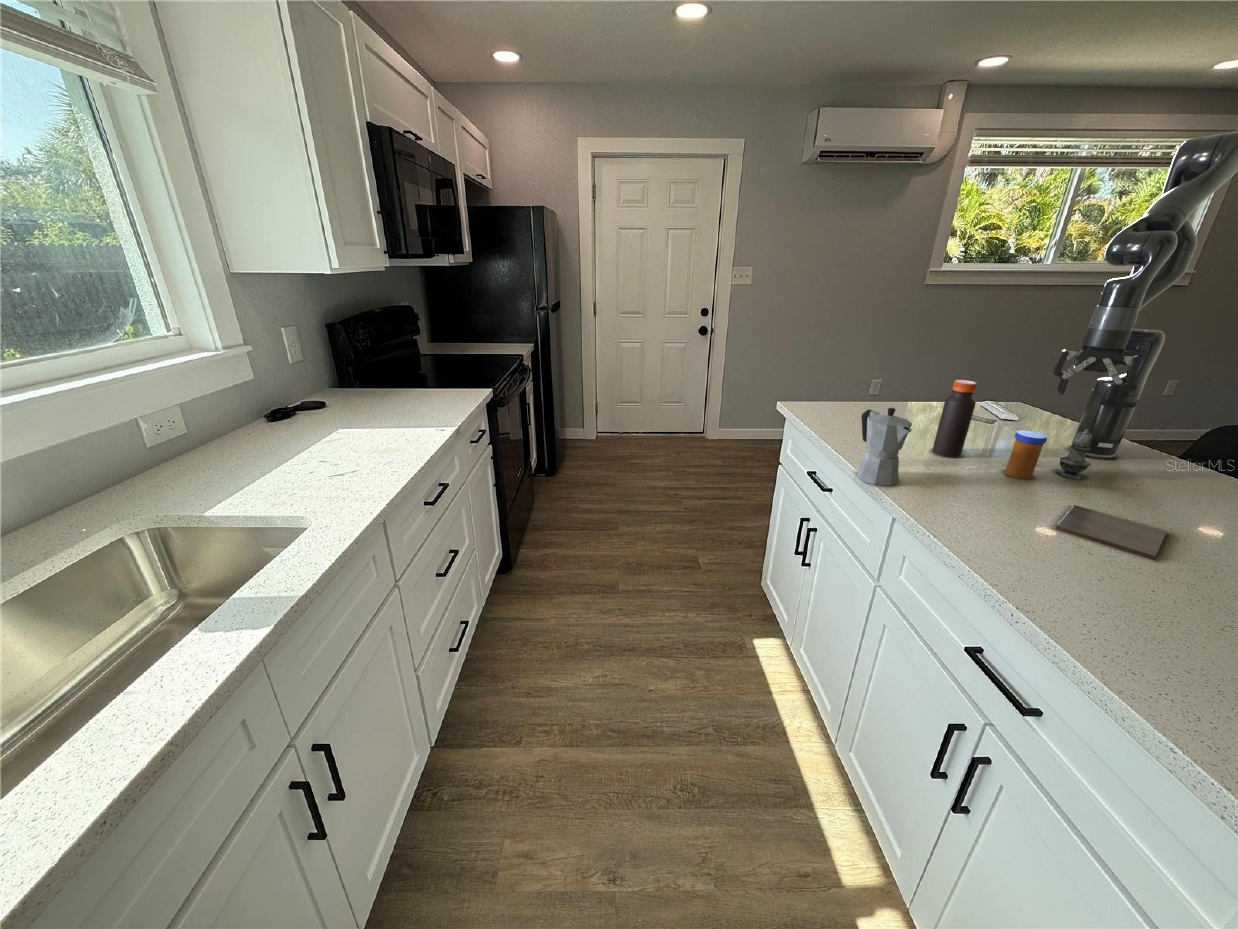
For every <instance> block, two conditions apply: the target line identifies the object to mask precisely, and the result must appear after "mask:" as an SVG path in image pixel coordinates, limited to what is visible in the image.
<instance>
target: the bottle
mask: <svg viewBox="0 0 1238 929" xmlns="http://www.w3.org/2000/svg"><path fill="white" fill-rule="evenodd" d="M977 385H978V383H977V382H975V381H972V380H965V379H955V380H954V381H953V385H952V390H951V391H952V394H951V395H948V397H946V398H945V400H944V404H943V407H942V411H941V415H940V419H939V422H938V426H937V430H936V434H935V437H934V442H933V445H932V453H934V454H935V455H937V456H941V457H946V458H958V457H961V455H962V452H963V449H964V446H965V442H966V438H967V434H968V432H969V429H970V424H971V421H972V419H973V414H974V410H975V408H976V404H977V403H976V400H975V399H974V398H973V395H974V394H975V392H976V389H977Z"/></svg>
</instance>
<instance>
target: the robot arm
mask: <svg viewBox="0 0 1238 929" xmlns="http://www.w3.org/2000/svg"><path fill="white" fill-rule="evenodd" d="M1237 172H1238V131H1231V132H1223V133H1217V134H1211V135H1209V134H1208V135H1205V136H1198V137H1193V138H1189V139H1187V140H1185V141H1184V142H1183V143H1182V144H1180V146H1179V147H1178V149H1177V151H1176V152H1175V155H1174V156H1173V159H1172V162H1171V165H1170V168H1169V170H1168V173H1167V175H1166V180H1165V183H1164V186H1163V189H1162V192H1161V196H1159V197H1158V198H1157V199H1156V200H1155V201H1154V202H1153V203H1152V204H1151V205H1150V206H1149V208H1148V209H1147V210H1146V212H1145V213H1144V214H1143V216H1142V217H1140V218H1139V219H1137V220H1135V221H1134V222H1132V223H1131V224H1130V225H1128V226H1126V227H1124V229H1122V230H1121V231H1120V232H1118V233H1117V234H1116V235H1115V236H1113V238H1112V239H1111V240H1110V241H1109V243H1108V244H1107V246H1106V247H1105V248H1106V249H1105V251H1104V259H1105V261H1106V263H1107V264H1109V265H1110V266H1113V267H1133V268H1132V270H1131V273H1130V275H1129V276H1128V275H1127V276H1122V277H1116V278H1112V279H1111V278H1110V279H1109V280H1107V281H1106V282H1105V284H1104V286H1103V289H1102V291H1101V294H1100V297H1099V299H1098V301H1097V305H1096V307H1095V309H1094V311H1093V313H1092V315H1091V317H1090V320H1089V322H1088V326H1087V329H1086V330H1085V334H1084V336H1083V340H1082V342H1081V344H1080V348H1079V349H1077V351H1072V350H1067V349H1062V350H1061V351H1060V353H1059V355H1058V358H1057V360H1056V361H1055V362H1056V363H1055V364H1054V367H1053V369H1052V374H1053V375H1054V376H1057V377H1059V380H1058V384H1057V386H1056V391H1057V392H1058V395H1064V394H1065V392H1066V389H1067V386H1068V384H1069V380H1070V379H1069V378H1071V377H1072V376H1073V375H1075V374H1078V372H1080V371H1085V372H1097V373H1102V374H1103V373H1106V372H1107V374H1108V376H1104V377H1100V378H1097V379H1096V380H1095V381H1094V383H1093V386H1092V389H1091V392H1090V394H1089V396H1088V400H1087V402H1086V404H1085V407H1084V410H1083V412H1082V415H1081V418H1080V420H1079V423H1078V425H1077V429H1076V431H1075V434H1074V436H1073V439H1072V441H1071V444H1070V445H1069V450H1071V448H1072V447H1071V445H1072V444H1073V443H1074V441H1075V438H1076V436H1077V434H1078V433H1080V432H1085V430H1086V429H1088V433H1090V434H1091V435H1092V440H1091V442H1090V445H1089V448H1090V449H1089V450H1088V451H1087V454H1086V457H1089V458H1095V459H1103V460H1104V459H1106V460H1107V459H1108V460H1109V459H1114V458H1116V456H1117V452H1118V449H1119V447H1120V444H1121V443H1122V440H1123V438H1124V435H1125V433H1126V430H1127V428H1128V426H1129V423H1130V421H1131V419H1132V416H1133V414H1134V412H1135V409H1136V407H1137V404H1138V402H1139V399H1140V397H1141V394H1142V392H1143V389H1144V387H1145V385H1146V382H1147V380H1148V377H1149V375H1150V373H1151V371H1152V368H1153V367H1154V365H1155V363H1156V361H1157V360H1158V356H1159V355H1160V353H1161V350H1162V348H1163V347H1164V343H1165V339H1166V334H1165V333H1164V331H1162V330H1157V329H1146V328H1143V329H1142V328H1135V327H1136V323H1137V321H1138V315H1139V312H1140V311H1141V310H1142V309H1143V308H1144V307H1145V306H1146V305H1147V304H1149V303H1150V302H1151V301H1152V300H1154V299H1155V298H1157V297H1158V296H1159V295H1160V294H1162V293H1164V292H1165V291H1166V290H1167V289H1169V288H1170V287H1172V286H1173V285H1174V284H1175V283H1176V282H1178V281H1179V280H1180V279H1181V278H1182V277H1183V276H1184V274H1185V273H1186V272H1187V270H1188V267H1189V266H1190V263H1191V260H1192V258H1193V256H1194V254H1195V251H1196V249H1197V245H1198V237H1197V234H1196V231H1195V228H1194V226H1193V225H1192V223H1191V220H1190V216H1192V214H1193V213H1194V211H1195V210H1196V209H1197V208H1198V207H1199V206H1200V205H1201V204H1202V203H1204V202H1205V201H1206V200H1207V199H1208V198H1209V197H1210V196H1212V195H1213V194H1214V193H1215V192H1216V191H1218V190H1219V189H1220V188H1221V187H1222V186H1223V185H1224V184H1226V183H1227V182H1228V181H1229V180H1230V179H1231V178H1233V176H1234V175H1235V174H1237ZM1073 357H1074V358H1075V360H1076V361H1077V362H1076V363H1075V364H1073V365H1072V366H1070V367H1069V368H1068V369H1067V370H1065V371H1062V370H1063V367H1064V365H1065V363H1066V361H1069V360H1071V359H1072V358H1073ZM1116 366H1120V367H1127V370H1126V372H1125V373H1123V374H1119V372H1118V370H1117V368H1116Z"/></svg>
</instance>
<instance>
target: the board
mask: <svg viewBox="0 0 1238 929" xmlns="http://www.w3.org/2000/svg"><path fill="white" fill-rule="evenodd" d="M1054 529H1055V530H1057V531H1061V532H1064V533H1066V534H1070V535H1073V536H1077V537H1080V538H1084V539H1086V540H1089V541H1093V542H1095V543H1099V544H1102V545H1105V546H1109V547H1111V548H1115V549H1119V550H1122V551H1124V552H1127V553H1131V554H1134V555H1137V556H1140V557H1143V558H1147V559H1150V560H1155V558H1156V556H1157V555H1158V552H1159V549H1160V547H1161V545H1162V543H1163V541H1164V539H1165V537H1166V535H1167V530H1166V529H1161V528H1157V527H1155V526H1150V525H1148V524H1144V523H1140V522H1138V521H1134V520H1130V519H1126V518H1123V517H1119V516H1116V515H1111V514H1108V513H1104V512H1101V511H1097V510H1093V509H1091V508H1087V507H1083V506H1079V505H1077V504H1074V505H1073V506H1072V507H1071V508H1070V509H1069V510H1068V511H1067V512H1066V514H1065V515H1064V516H1063V517H1062V519H1061V520H1059V521H1058V523H1057V524H1056V526H1055V528H1054Z"/></svg>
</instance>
